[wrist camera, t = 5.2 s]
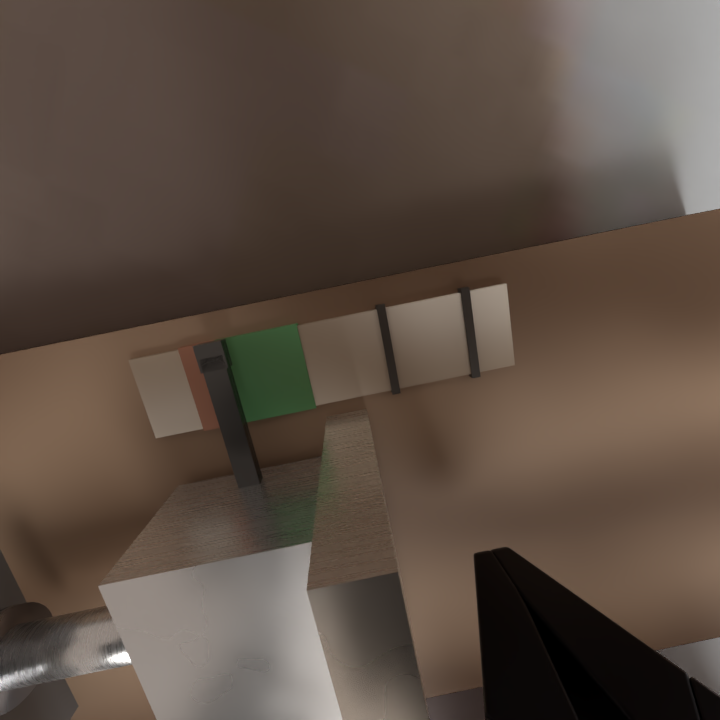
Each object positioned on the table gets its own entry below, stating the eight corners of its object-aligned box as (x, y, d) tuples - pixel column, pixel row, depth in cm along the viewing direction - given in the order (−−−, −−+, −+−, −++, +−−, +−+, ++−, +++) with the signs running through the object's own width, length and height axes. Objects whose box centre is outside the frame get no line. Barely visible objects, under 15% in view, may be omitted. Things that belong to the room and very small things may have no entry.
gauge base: (683, 594, 13) (1024, 906, 6) (24, 731, 13) (-300, 1190, 6) (688, 214, 10) (1319, 92, 3) (-168, 388, 10) (-1131, 590, 3)
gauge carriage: (412, 632, 10) (476, 953, 5) (99, 698, 10) (-126, 1082, 5) (346, 312, 8) (353, 357, 3) (-48, 391, 8) (-638, 560, 3)
